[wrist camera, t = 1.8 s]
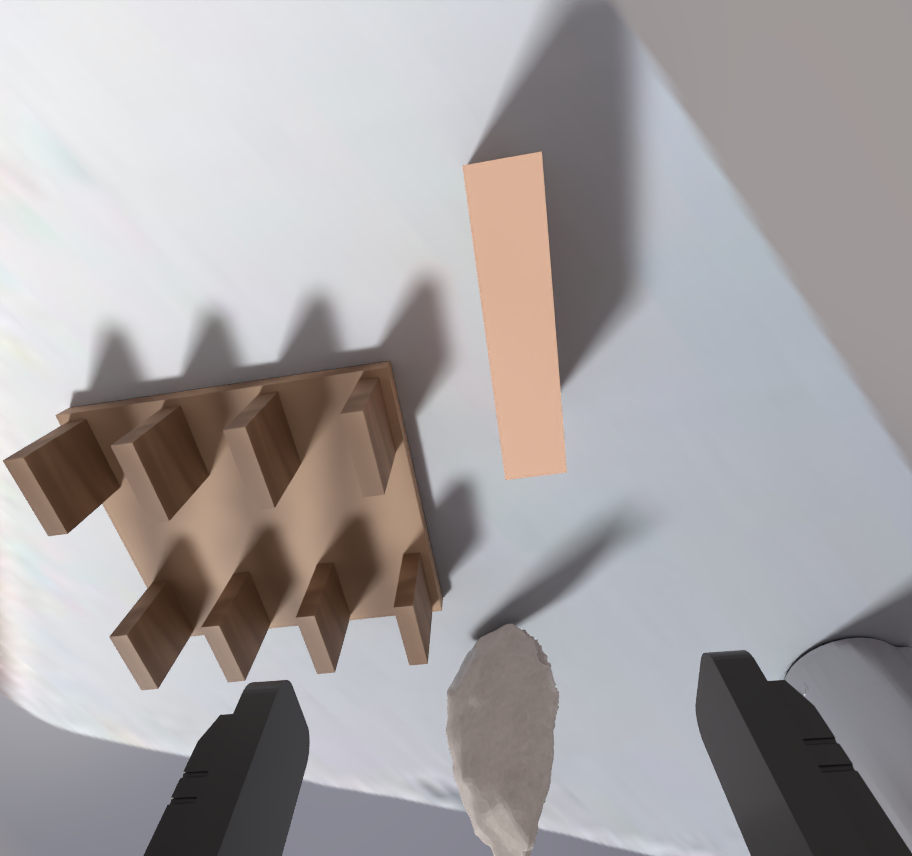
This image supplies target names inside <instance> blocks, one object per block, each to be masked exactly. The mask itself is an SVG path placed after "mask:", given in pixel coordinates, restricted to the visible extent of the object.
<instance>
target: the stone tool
mask: <svg viewBox="0 0 912 856" xmlns="http://www.w3.org/2000/svg"><path fill="white" fill-rule="evenodd" d="M550 668H551V665H550V663H548V661H547V655H546V654H544V653H543V651H542V647H541V645H539V643H538V639H537V640H535V639H534V637H532V636H530V635H529V634H528V633H527V632H526V630H521V629H520V628H518V627H517V626H516V625H515V624H506V625H504V626H502V627H501V628H499V629H497V630H495V631H493V632H490V633H488V634H486V635H484V636H481V637H480V639H479V640H478V641H477V642H476V644H475V645H474V647H473V649H472V650H471V651H469V652H468V654H467V655H466V657H465V659H464V661H463V663H462V665H461V667H460V670H459V671H458V673H457V675H456V677H455V678H454V680H453V682H452V684H451V685H450V687H449V688H448V690H447V696H448V699H447V704H448V705H447V713H448V719H447V727H446V733H447V738H448V745H449V750H450V753H451V756H452V760H453V772H454V777H455V780H456V783H457V786H458V789H459V792H460V795H461V799H462V802H463V805H464V807H465V809H466V811H467V813H468V815H469V817H470V819H471V822H472V825H473V829H474V831H475V835H477V836H478V837H479V838H480V839H481V840H482V842H484V843H485V844H487V845H489V846H490V847H491V848H492V852H493V854H494V856H530V854H531V850H532V849H533V847H534V844H535V837H536V835H537V831H538V820H539V818H540V815H541V812H542V809H543V803H545V799H546V796H547V794H548V791H549V787H550V782H551V781H550V779H551V770H552V763H553V755H554V748H553V746H554V736H553V730H554V727H555V720H556V714H557V710H558V708H559V706H558V703H559V701H558V699H559V692H558V691H557V688H555V685H556V684H555V682H554V678H553V675H552V671H551V669H550Z"/></svg>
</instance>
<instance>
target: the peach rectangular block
mask: <svg viewBox="0 0 912 856" xmlns="http://www.w3.org/2000/svg"><path fill="white" fill-rule="evenodd" d="M463 173H464V180H465V187H466V194H467V202H468V209H469V216H470V224H471V231H472V238H473V246H474V253H475V260H476V268H477V275H478V282H479V289H480V297H481V304H482V311H483V319H484V326H485V333H486V341H487V348H488V355H489V363H490V370H491V377H492V384H493V392H494V399H495V406H496V414H497V421H498V428H499V436H500V443H501V450H502V458H503V465H504V472H505V479H506V480H508V479H517V478H525V477H533V476H541V475H549V474H558V473H566V472H567V468H566V455H565V442H564V430H563V417H562V404H561V391H560V378H559V365H558V353H557V340H556V327H555V314H554V301H553V288H552V276H551V263H550V250H549V237H548V224H547V211H546V199H545V186H544V173H543V160H542V151H541V152H536V153H530V154H524V155H519V156H513V157H508V158H502V159H496V160H491V161H485V162H480V163H474V164H468V165H463Z"/></svg>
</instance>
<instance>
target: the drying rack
mask: <svg viewBox="0 0 912 856" xmlns="http://www.w3.org/2000/svg"><path fill="white" fill-rule="evenodd" d="M56 417H57V419H58V421H59V423H60V425H61V426H60V427H58V428H57V429H55V430H53V431H52V432H50V433H48V434H47V435H45V436H43V437H42V438H40V439H38V440H37V441H35V442H33V443H31V444H30V445H28V446H26V447H25V448H23V449H21V450H20V451H18V452H16V453H15V454H13V455H11V456H10V457H8V458H6V459H5V460H3V462H4V463H5V465H6V467H7V468H8V470H9V472H10V473H11V475H12V477H13V478H14V480H15V482H16V483H17V485H18V487H19V488H20V490H21V492H22V493H23V495H24V497H25V498H26V500H27V501H28V503H29V505H30V506H31V508H32V510H33V511H34V513H35V515H36V516H37V518H38V520H39V521H40V523H41V525H42V526H43V528H44V530H45V531H46V533H47V535H48V536H53V535H62V534H68V533H69V532H70V531H71V530H72V529H74V528H75V527H76V526H77V525H78V524H79V523H80V522H82V521H83V520H84V519H85V518H86V517H87V516H88V515H90V514H91V513H92V512H93V511H94V510H95V509H96V508H98V507H99V506H100V505H101V504H103V506H104V508H105V509H106V511H107V513H108V515H109V517H110V519H111V521H112V523H113V524H114V526H115V528H116V530H117V532H118V534H119V536H120V538H121V540H122V541H123V543H124V545H125V547H126V549H127V551H128V553H129V555H130V556H131V558H132V560H133V562H134V564H135V566H136V568H137V570H138V571H139V573H140V575H141V577H142V579H143V581H144V583H145V585H146V586H147V588H148V589H147V590H146V591H145V593H144V594H143V595H142V596H141V598H140V599H139V600H138V601H137V603H136V604H135V605H134V606H133V608H132V609H131V610H130V612H129V613H128V614H127V615H126V617H125V618H124V619H123V620H122V622H121V623H120V624H119V625H118V627H117V628H116V629H115V630H114V632H113V633H112V634H111V636H110V639H111V641H112V642H113V644H114V646H115V647H116V649H117V650H118V652H119V654H120V655H121V657H122V659H123V660H124V662H125V664H126V665H127V667H128V669H129V670H130V672H131V674H132V675H133V677H134V679H135V680H136V682H137V684H138V685H139V687H140V689H141V690H150V689H158V688H159V686H160V685H161V683H162V681H163V680H164V678H165V677H166V675H167V673H168V672H169V670H170V668H171V667H172V665H173V664H174V662H175V660H176V659H177V657H178V655H179V654H180V652H181V651H182V649H183V647H184V646H185V644H186V642H187V641H188V639H189V638H190V636H199V635H205V637H206V639H207V641H208V643H209V645H210V647H211V649H212V651H213V653H214V655H215V657H216V659H217V661H218V663H219V665H220V667H221V669H222V671H223V673H224V675H225V677H226V679H227V681H228V682H236V681H245V680H246V677H247V675H248V673H249V671H250V669H251V666H252V664H253V662H254V660H255V657H256V655H257V653H258V651H259V649H260V646H261V644H262V642H263V640H264V638H265V635H266V633H267V631H268V629H269V628H277V627H287V626H297V625H299V628H300V631H301V633H302V636H303V638H304V641H305V643H306V646H307V649H308V651H309V654H310V656H311V659H312V662H313V664H314V667H315V669H316V672H317V674H322V673H333V672H335V670H336V667H337V663H338V659H339V656H340V652H341V648H342V645H343V641H344V637H345V634H346V630H347V626H348V623H349V620H356V619H365V618H375V617H385V616H395V615H396V619H397V622H398V626H399V629H400V633H401V637H402V640H403V644H404V647H405V651H406V655H407V658H408V662H409V665H419V664H428V654H429V643H430V631H431V620H432V612H434V611H442V601H443V598H442V594H441V589H440V585H439V580H438V576H437V571H436V567H435V562H434V558H433V553H432V549H431V544H430V540H429V535H428V531H427V526H426V522H425V517H424V513H423V508H422V504H421V499H420V495H419V490H418V486H417V481H416V476H415V472H414V467H413V463H412V458H411V454H410V449H409V445H408V440H407V436H406V431H405V427H404V422H403V418H402V413H401V409H400V404H399V400H398V395H397V391H396V386H395V382H394V377H393V373H392V368H391V364H390V361H386V362H379V363H372V364H365V365H359V366H352V367H345V368H338V369H331V370H324V371H318V372H311V373H304V374H297V375H290V376H283V377H277V378H270V379H263V380H256V381H249V382H242V383H236V384H229V385H222V386H215V387H208V388H201V389H195V390H188V391H181V392H174V393H167V394H161V395H154V396H147V397H140V398H133V399H126V400H120V401H113V402H106V403H99V404H92V405H85V406H79V407H72V408H68V409H66V410H64V411H63V412H61V413H59V414H57V415H56Z"/></svg>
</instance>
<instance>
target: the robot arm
mask: <svg viewBox="0 0 912 856" xmlns="http://www.w3.org/2000/svg"><path fill="white" fill-rule="evenodd" d="M696 717H697V722H698V727H699V731H700V734H701V737H702V740H703V742H704V745H705V747H706V750H707V752H708V754H709V757H710V759H711V762H712V764H713V766H714V769H715V771H716V773H717V776H718V778H719V781H720V783H721V785H722V788H723V790H724V792H725V795H726V797H727V800H728V802H729V804H730V807H731V809H732V812H733V814H734V816H735V819H736V821H737V823H738V826H739V828H740V831H741V833H742V835H743V838H744V840H745V842H746V845H747V847H748V850H749V852H750V854H751V856H912V648H911V647H895V646H892V645H890V644H888V643H886V642H884V641H881V640H877V639H873V638H849V639H843V640H838V641H834V642H831V643H828V644H825V645H822V646H820V647H818V648H816V649H814V650H812V651H810V652H809V653H807V654H806V655H804V656H803V657H802V658H800V659H799V660H798V661H797V662H796V663H795V664H794V665H793V666H792V667H791V669H790V670H789V672H788V673H787V675H786V677H785V680H778V681H767V679H766V678H765V676H764V674H763V673H762V671H761V669H760V668H759V666H758V664H757V663H756V661H755V660H754V658H753V657H752V655H751V654H750V653H749V652H747V651H745V650H739V651H725V652H710V653H703V655H702V657H701V663H700V672H699V680H698V689H697V697H696ZM308 755H309V730H308V726H307V724H306V721H305V718H304V715H303V713H302V710H301V707H300V705H299V702H298V699H297V697H296V694H295V691H294V689H293V686H292V684H291V682H290V681H288V680H281V681H266V682H252V683H250V684H248V685H247V686H246V688H245V689H244V691H243V693H242V695H241V697H240V699H239V702H238V704H237V706H236V709H235V711H234V713H233V714H227V715H220V716H219V717H218V718H217V720H216V721H215V722H214V723H213V724H212V725H211V727H210V728H209V729H208V730H207V731H206V733H205V734H204V735H203V736H202V737H201V738H200V740H199V741H198V742H197V744H196V746H195V749H194V751H193V753H192V755H191V757H190V759H189V761H188V763H187V766H186V768H185V770H184V772H183V778H181V779H180V780H179V782H178V784H177V786H176V788H175V791H174V793H173V795H172V797H171V803H170V805H167V807H166V810H165V812H164V814H163V816H162V818H161V820H160V822H159V824H158V826H157V828H156V830H155V833H154V835H153V837H152V839H151V841H150V843H149V846H148V847H147V849H146V852H145V854H144V856H282V853H283V849H284V846H285V842H286V838H287V835H288V831H289V827H290V824H291V820H292V816H293V813H294V809H295V805H296V802H297V798H298V794H299V790H300V787H301V783H302V780H303V776H304V772H305V769H306V765H307V761H308Z"/></svg>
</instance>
